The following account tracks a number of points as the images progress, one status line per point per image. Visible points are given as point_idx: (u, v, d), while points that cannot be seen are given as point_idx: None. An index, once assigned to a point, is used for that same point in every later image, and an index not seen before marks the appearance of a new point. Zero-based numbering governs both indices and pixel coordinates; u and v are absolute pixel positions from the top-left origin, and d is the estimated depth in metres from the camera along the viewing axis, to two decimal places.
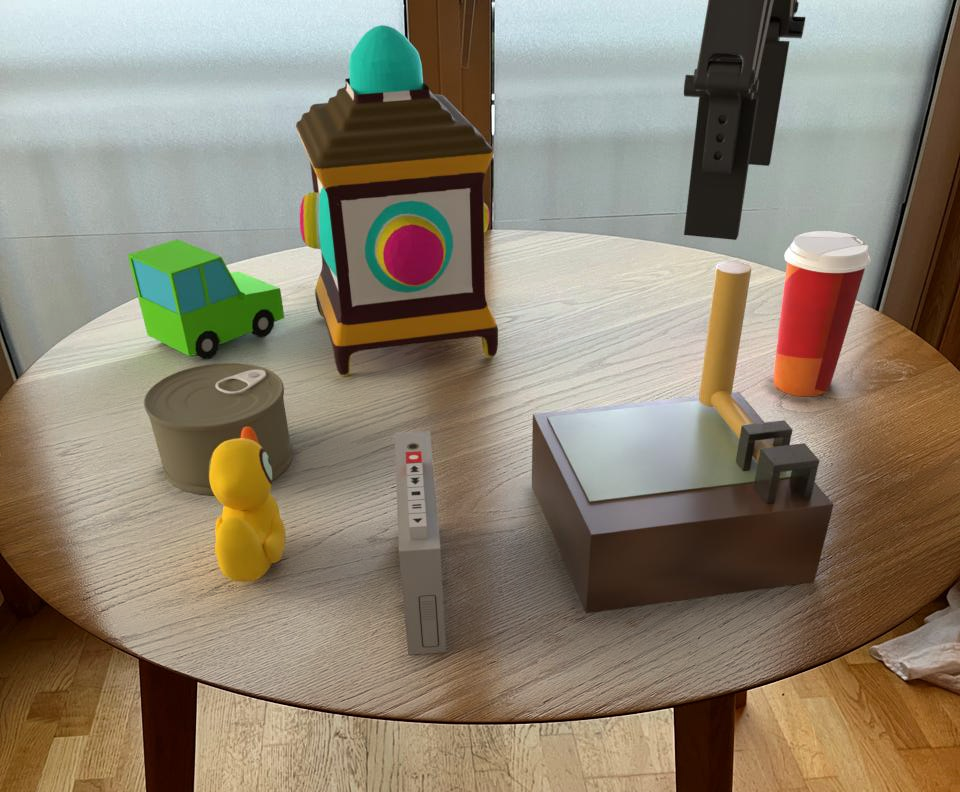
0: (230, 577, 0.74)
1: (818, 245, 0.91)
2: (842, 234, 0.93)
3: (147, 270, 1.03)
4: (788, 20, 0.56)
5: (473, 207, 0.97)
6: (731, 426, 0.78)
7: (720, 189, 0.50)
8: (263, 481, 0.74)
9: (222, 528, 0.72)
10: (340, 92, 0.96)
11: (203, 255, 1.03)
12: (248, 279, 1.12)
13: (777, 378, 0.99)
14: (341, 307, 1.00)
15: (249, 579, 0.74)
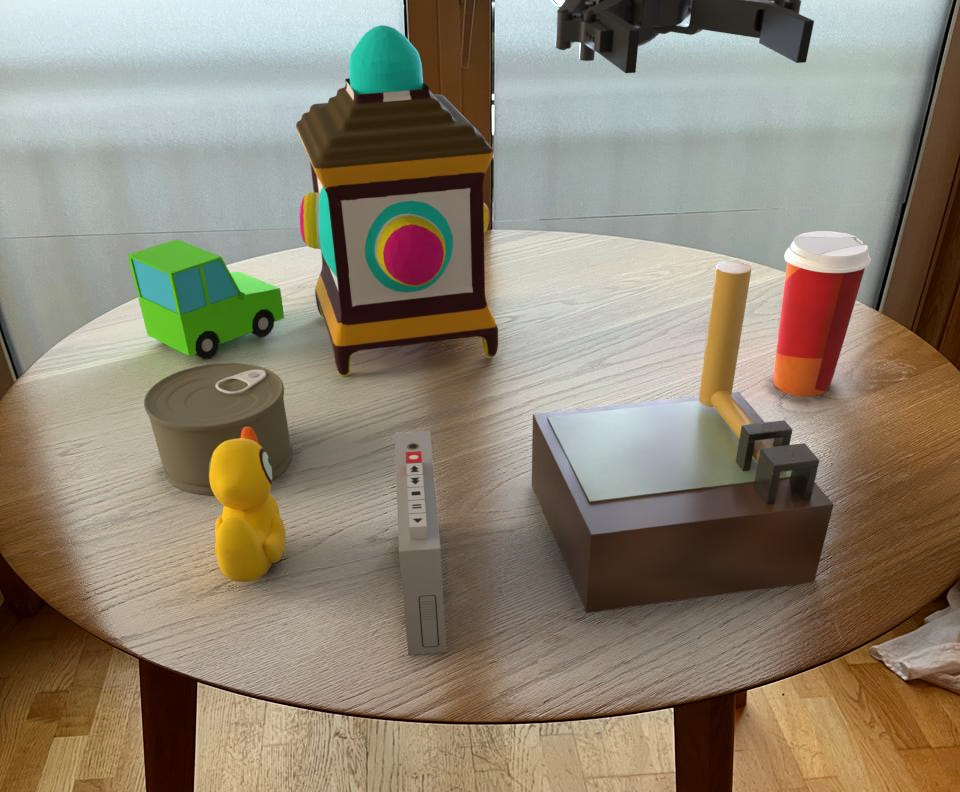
0: (230, 577, 0.74)
1: (818, 244, 0.91)
2: (842, 234, 0.93)
3: (147, 270, 1.03)
4: (761, 3, 0.78)
5: (473, 207, 0.97)
6: (731, 426, 0.78)
7: (616, 41, 0.73)
8: (263, 481, 0.74)
9: (222, 528, 0.72)
10: (340, 92, 0.96)
11: (203, 255, 1.03)
12: (248, 279, 1.12)
13: (777, 378, 0.99)
14: (341, 307, 1.00)
15: (249, 579, 0.74)
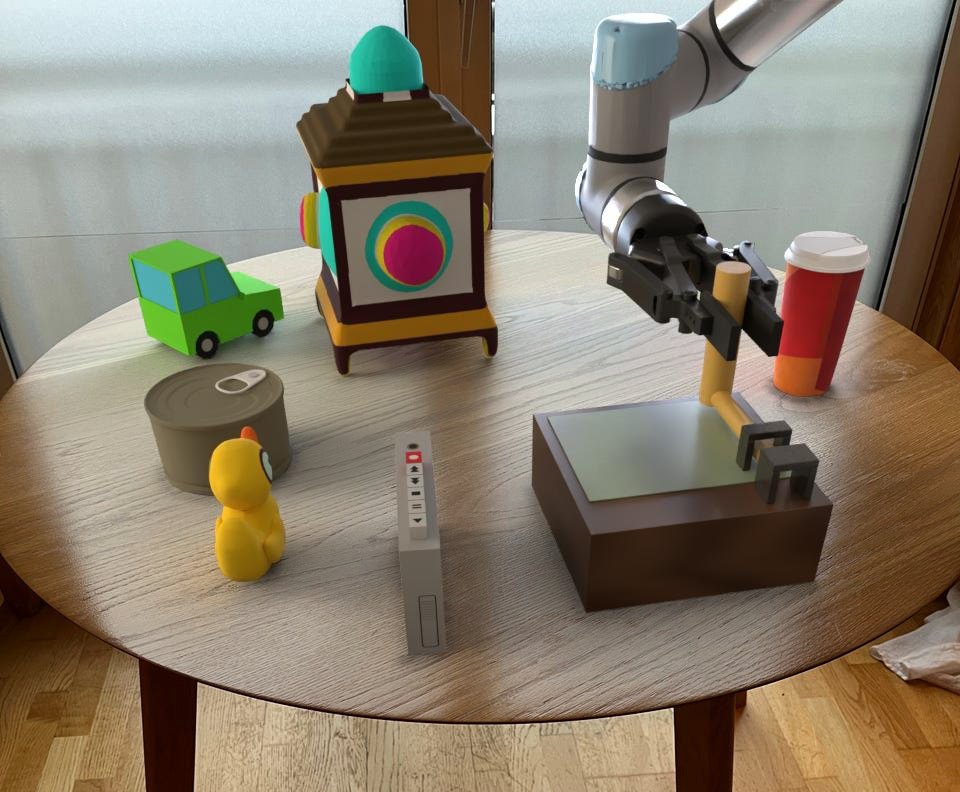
0: (230, 577, 0.74)
1: (818, 244, 0.91)
2: (842, 234, 0.93)
3: (147, 270, 1.03)
4: None
5: (473, 207, 0.97)
6: (731, 426, 0.78)
7: (717, 328, 0.75)
8: (263, 481, 0.74)
9: (222, 528, 0.72)
10: (340, 92, 0.96)
11: (203, 255, 1.03)
12: (248, 279, 1.12)
13: (777, 378, 0.99)
14: (341, 307, 1.00)
15: (249, 579, 0.74)
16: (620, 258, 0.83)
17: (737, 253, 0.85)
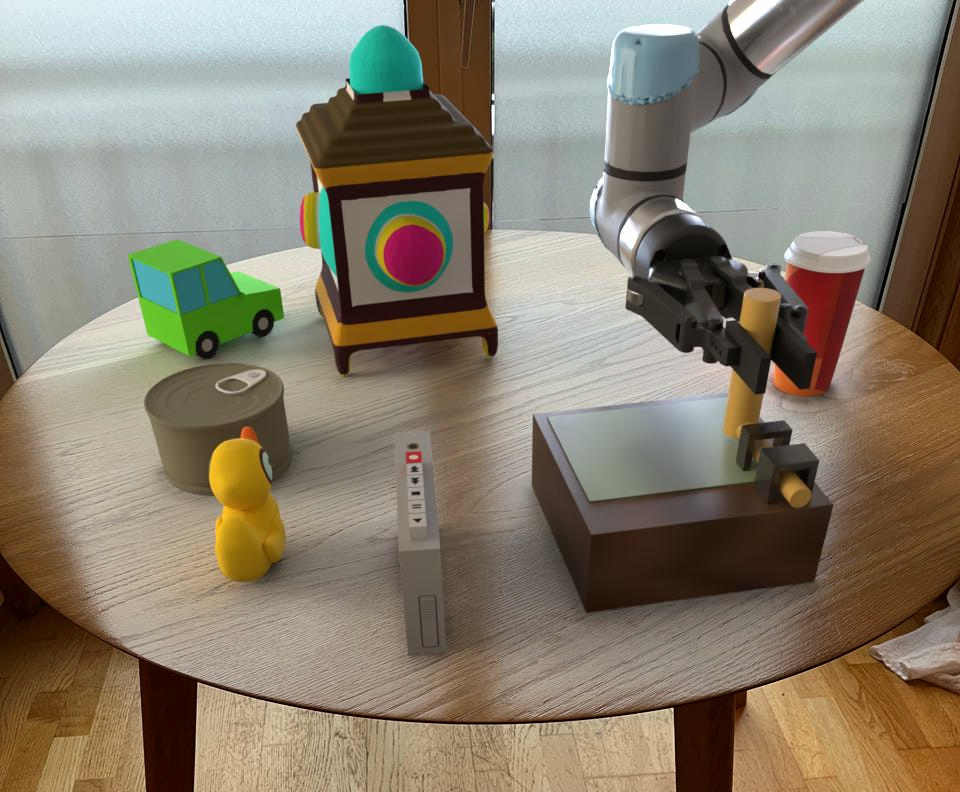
0: (230, 577, 0.74)
1: (818, 244, 0.91)
2: (842, 234, 0.93)
3: (147, 270, 1.03)
4: None
5: (473, 207, 0.97)
6: None
7: (745, 359, 0.71)
8: (263, 481, 0.74)
9: (222, 528, 0.72)
10: (340, 92, 0.96)
11: (203, 255, 1.03)
12: (248, 279, 1.12)
13: (777, 378, 0.99)
14: (341, 307, 1.00)
15: (249, 579, 0.74)
16: (640, 282, 0.79)
17: (763, 276, 0.81)
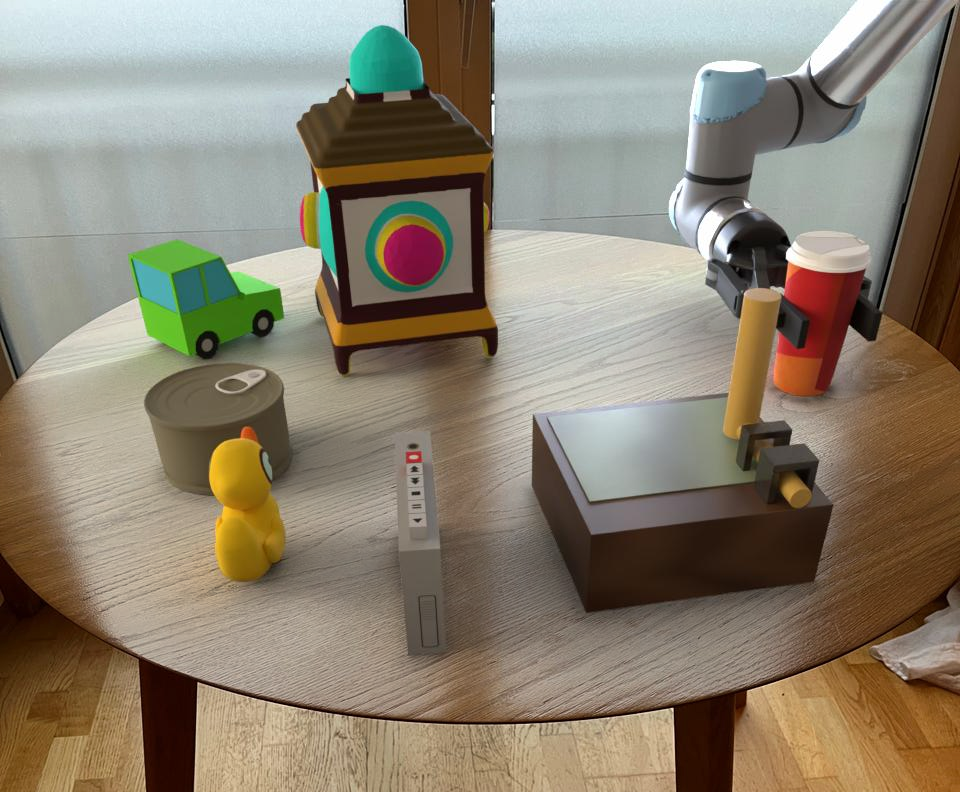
0: (230, 577, 0.74)
1: (819, 244, 0.91)
2: (843, 234, 0.93)
3: (147, 270, 1.03)
4: None
5: (473, 207, 0.97)
6: None
7: (789, 322, 0.93)
8: (263, 481, 0.74)
9: (222, 528, 0.72)
10: (340, 92, 0.96)
11: (203, 255, 1.03)
12: (248, 279, 1.12)
13: (777, 378, 0.99)
14: (341, 307, 1.00)
15: (249, 579, 0.74)
16: (717, 263, 1.02)
17: None
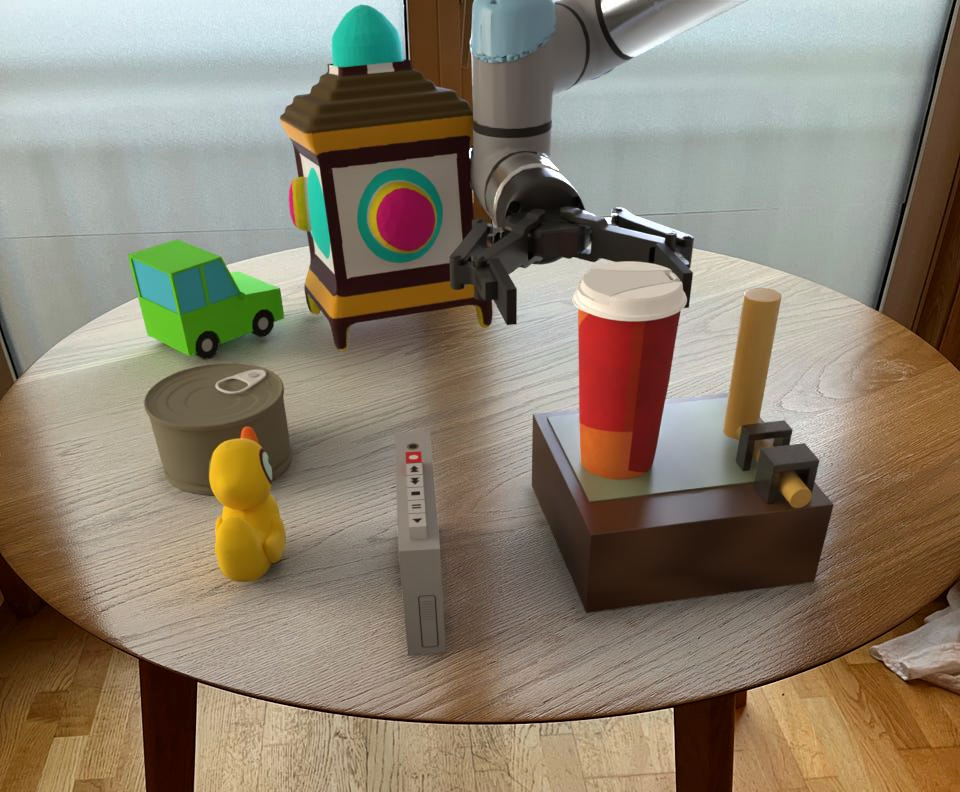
0: (230, 577, 0.74)
1: (614, 281, 0.67)
2: (653, 266, 0.69)
3: (147, 270, 1.03)
4: (653, 241, 0.80)
5: (460, 173, 0.99)
6: None
7: (500, 292, 0.75)
8: (263, 481, 0.74)
9: (222, 528, 0.72)
10: (323, 76, 0.99)
11: (203, 255, 1.03)
12: (248, 279, 1.12)
13: (582, 454, 0.75)
14: (336, 279, 1.00)
15: (249, 579, 0.74)
16: (476, 224, 0.84)
17: (616, 220, 0.86)
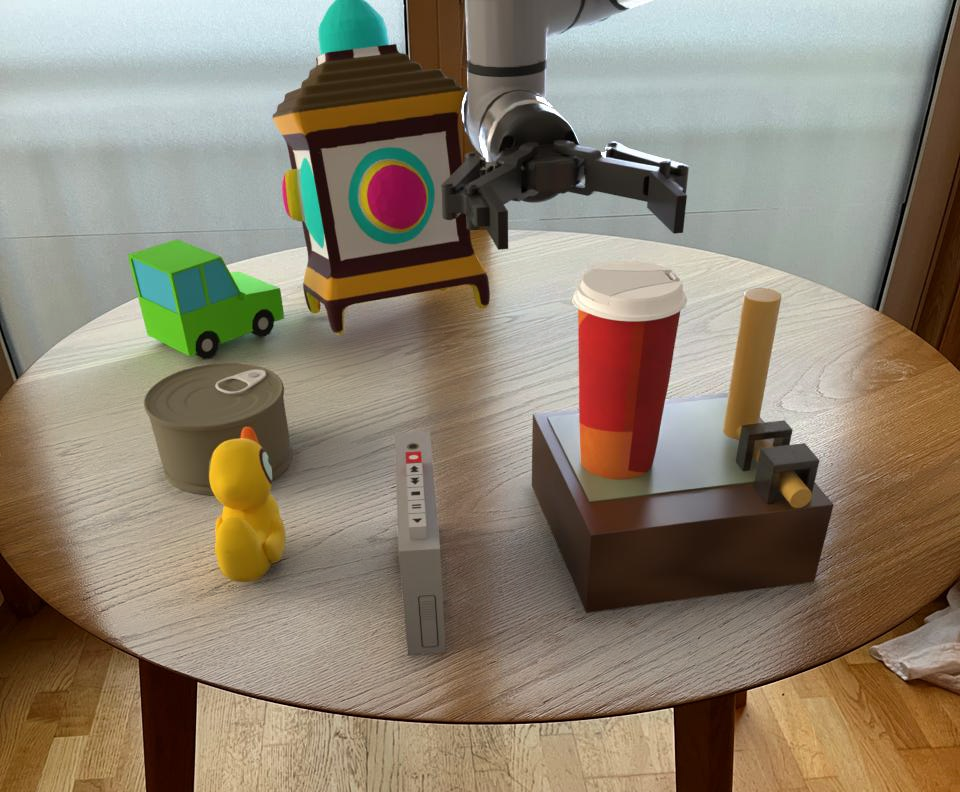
0: (230, 577, 0.74)
1: (614, 281, 0.67)
2: (652, 266, 0.69)
3: (147, 270, 1.03)
4: (647, 170, 0.79)
5: (450, 151, 0.99)
6: None
7: (491, 217, 0.74)
8: (263, 481, 0.74)
9: (222, 528, 0.72)
10: (312, 69, 1.01)
11: (203, 255, 1.03)
12: (248, 279, 1.12)
13: (582, 454, 0.75)
14: (330, 261, 1.00)
15: (249, 579, 0.74)
16: (469, 157, 0.83)
17: (611, 154, 0.85)
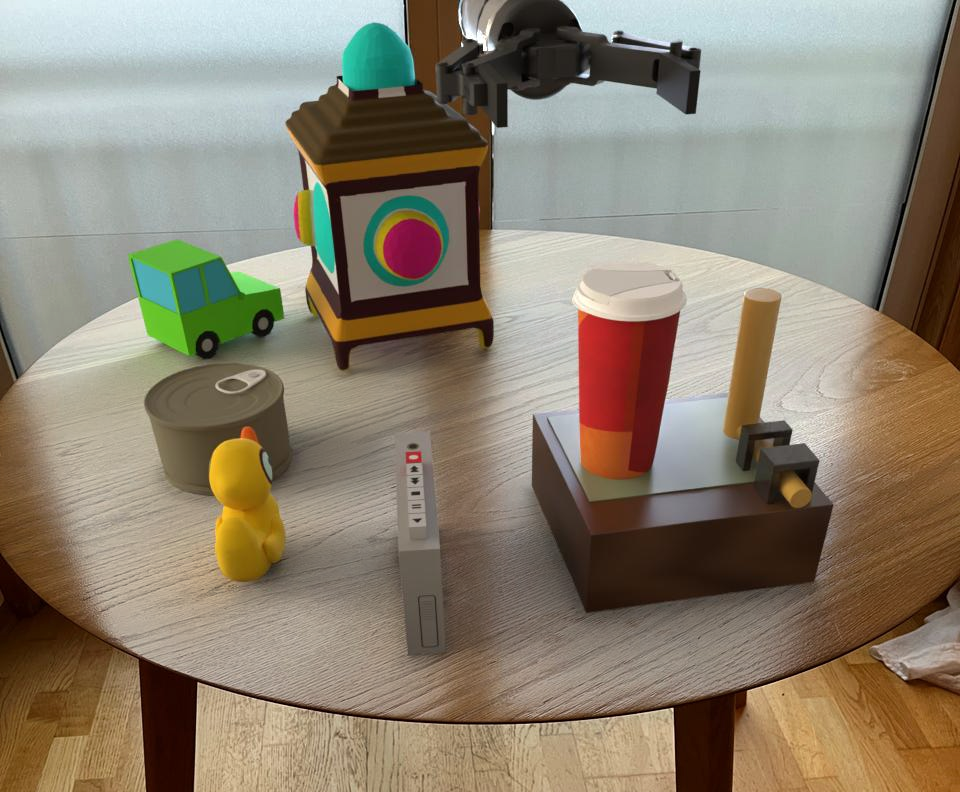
0: (230, 577, 0.74)
1: (613, 281, 0.67)
2: (652, 266, 0.69)
3: (147, 270, 1.03)
4: (657, 52, 0.74)
5: (468, 200, 0.98)
6: None
7: (490, 94, 0.69)
8: (263, 481, 0.74)
9: (222, 528, 0.72)
10: (332, 89, 0.97)
11: (203, 255, 1.03)
12: (248, 279, 1.12)
13: (582, 454, 0.75)
14: (341, 303, 1.00)
15: (249, 579, 0.74)
16: (466, 43, 0.78)
17: (618, 42, 0.79)
